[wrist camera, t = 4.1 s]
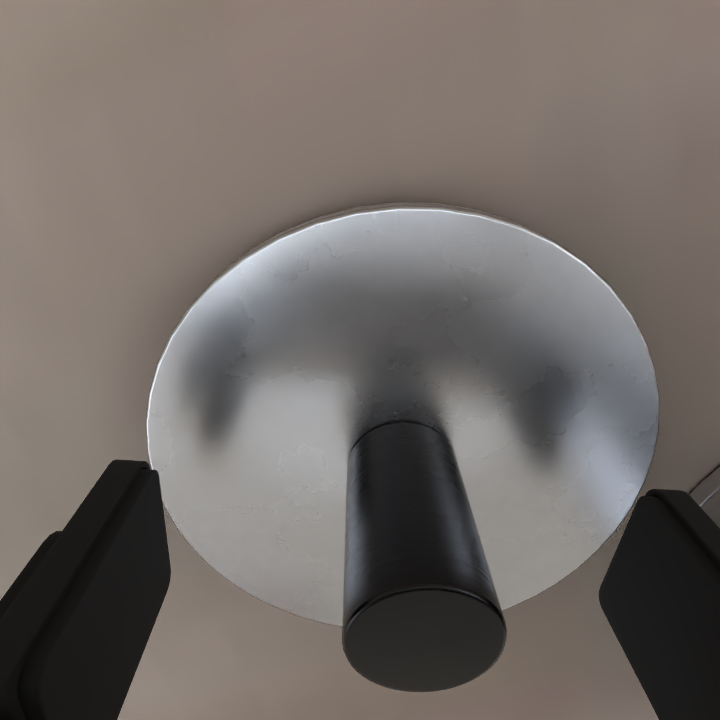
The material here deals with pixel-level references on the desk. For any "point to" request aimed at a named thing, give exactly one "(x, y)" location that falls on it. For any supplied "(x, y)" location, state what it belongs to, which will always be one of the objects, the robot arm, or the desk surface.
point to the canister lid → (403, 428)
